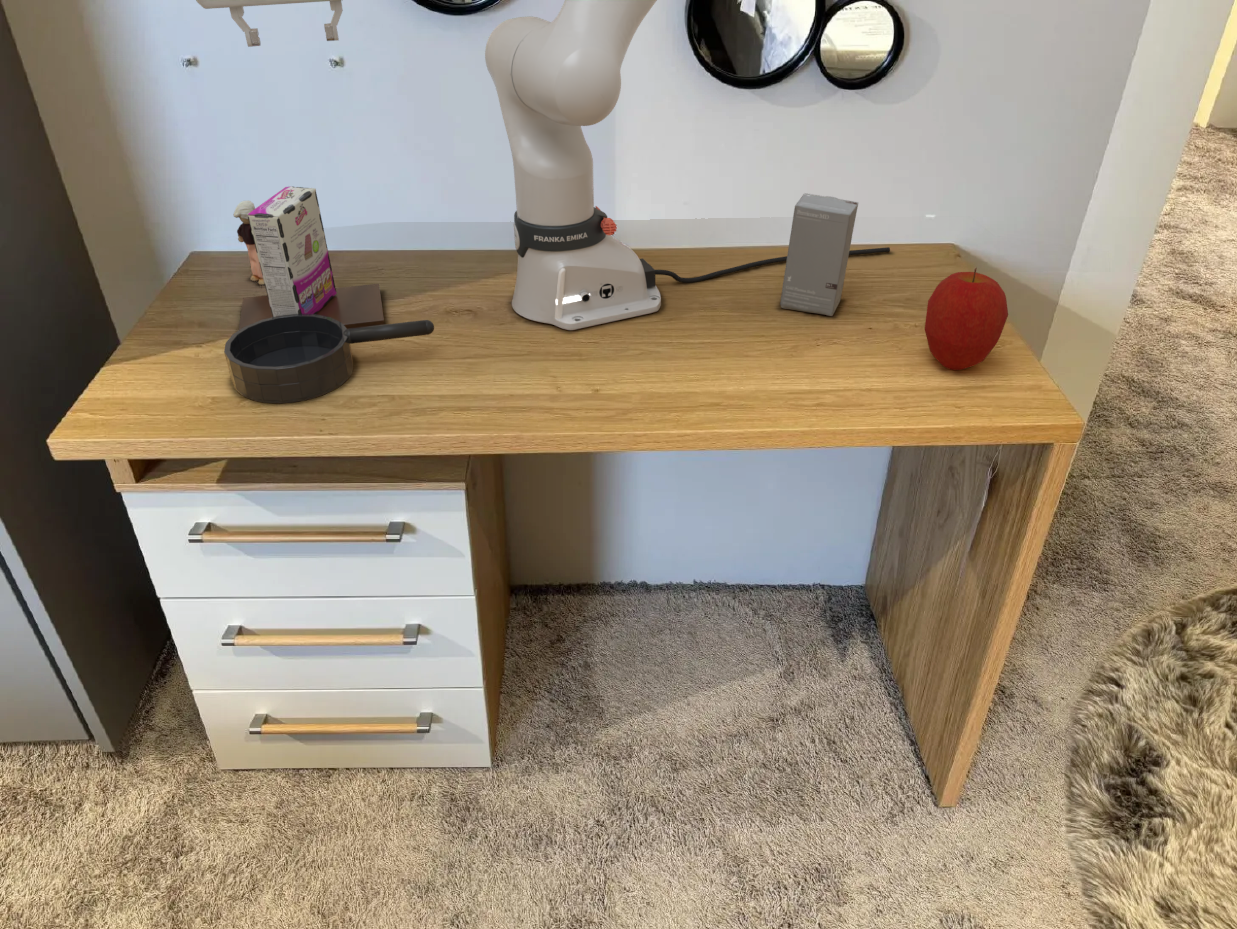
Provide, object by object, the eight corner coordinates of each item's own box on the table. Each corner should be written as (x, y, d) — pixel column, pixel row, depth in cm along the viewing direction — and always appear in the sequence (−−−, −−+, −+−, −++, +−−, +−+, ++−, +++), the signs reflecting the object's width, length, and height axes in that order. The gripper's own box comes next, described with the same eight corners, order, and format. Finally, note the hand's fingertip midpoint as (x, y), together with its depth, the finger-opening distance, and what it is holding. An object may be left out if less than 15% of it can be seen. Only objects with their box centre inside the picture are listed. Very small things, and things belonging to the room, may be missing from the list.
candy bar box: (307, 291, 145) (285, 184, 136) (337, 294, 144) (318, 187, 135) (270, 324, 136) (244, 212, 127) (303, 327, 135) (279, 215, 126)
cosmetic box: (779, 309, 143) (789, 206, 134) (790, 290, 149) (801, 190, 140) (835, 318, 141) (850, 213, 132) (845, 299, 146) (859, 197, 137)
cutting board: (380, 292, 148) (378, 283, 147) (385, 329, 138) (383, 319, 137) (245, 306, 144) (242, 297, 143) (239, 346, 134) (237, 336, 133)
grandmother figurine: (287, 279, 152) (271, 201, 145) (268, 288, 149) (250, 209, 142) (255, 269, 156) (237, 192, 148) (235, 277, 153) (216, 200, 146)
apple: (1008, 379, 126) (1034, 281, 118) (935, 385, 125) (957, 286, 117) (972, 343, 134) (994, 248, 126) (904, 348, 133) (922, 253, 125)
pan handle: (434, 329, 130) (432, 316, 129) (435, 336, 129) (434, 322, 127) (343, 340, 128) (341, 326, 127) (344, 347, 126) (341, 333, 125)
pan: (351, 340, 135) (345, 308, 132) (355, 394, 123) (349, 360, 120) (237, 353, 132) (228, 320, 129) (229, 410, 120) (220, 375, 117)
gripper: (358, -92, 116) (377, 31, 124) (180, -84, 112) (211, 43, 120) (360, -87, 111) (380, 41, 119) (173, -78, 107) (206, 54, 115)
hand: (294, 42), depth 119 cm, fingers open, 8 cm apart
